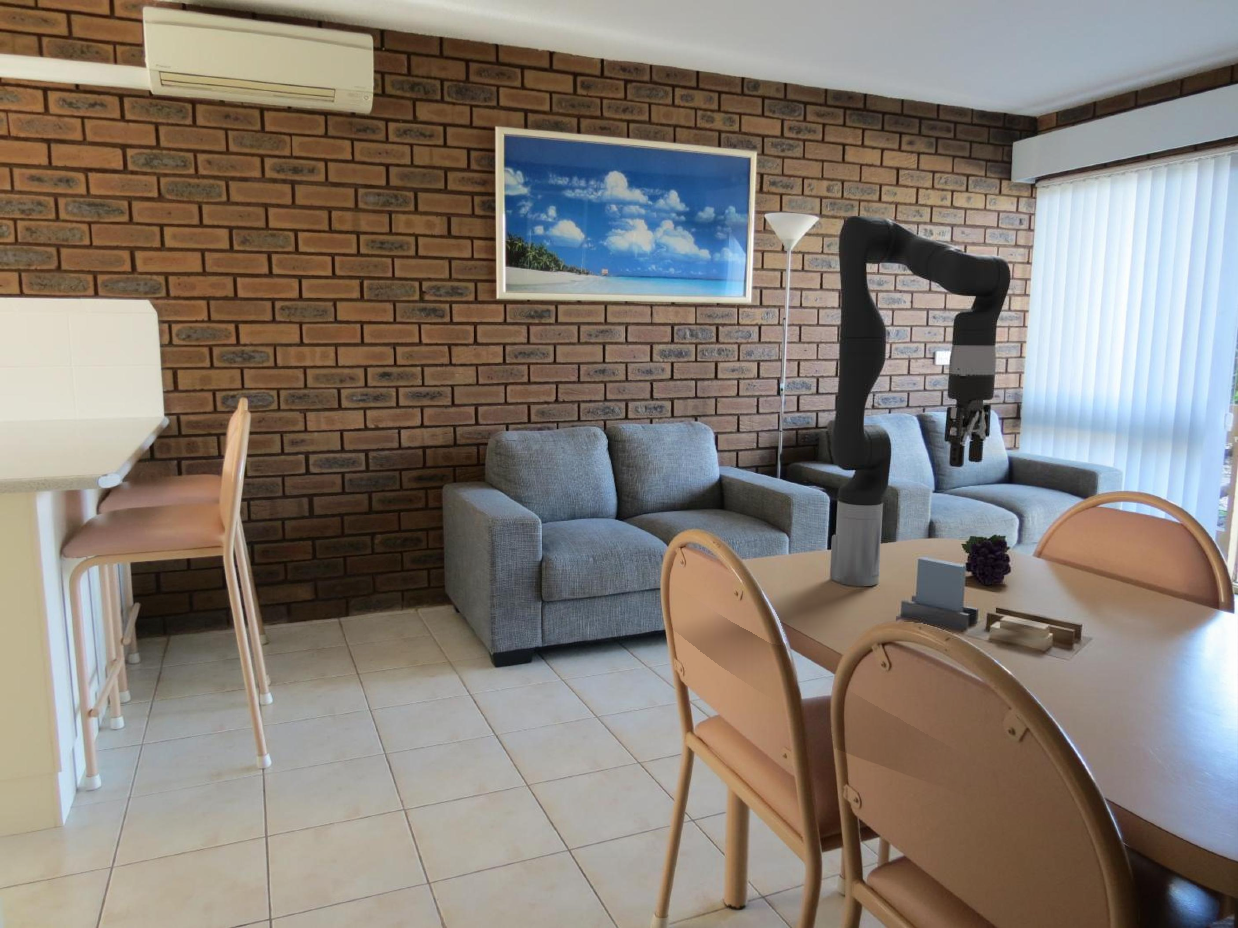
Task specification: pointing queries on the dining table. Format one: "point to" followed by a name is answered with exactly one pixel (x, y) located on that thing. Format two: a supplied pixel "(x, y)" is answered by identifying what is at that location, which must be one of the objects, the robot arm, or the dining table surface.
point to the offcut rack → (1063, 631)
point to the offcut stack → (1022, 632)
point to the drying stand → (939, 615)
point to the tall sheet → (940, 584)
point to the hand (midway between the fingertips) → (965, 464)
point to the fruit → (987, 558)
